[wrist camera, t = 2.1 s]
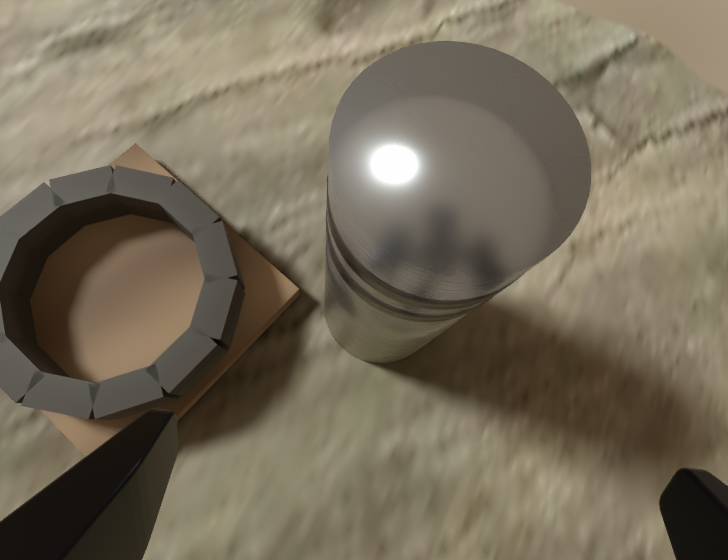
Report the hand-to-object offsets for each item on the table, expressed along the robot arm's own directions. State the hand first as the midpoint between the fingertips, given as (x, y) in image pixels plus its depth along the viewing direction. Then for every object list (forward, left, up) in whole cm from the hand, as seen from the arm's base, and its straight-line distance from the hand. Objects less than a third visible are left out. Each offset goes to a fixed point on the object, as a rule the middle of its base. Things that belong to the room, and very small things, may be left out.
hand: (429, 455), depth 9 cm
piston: (+3, -5, -12) cm, 13 cm away
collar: (+11, +2, -12) cm, 16 cm away
